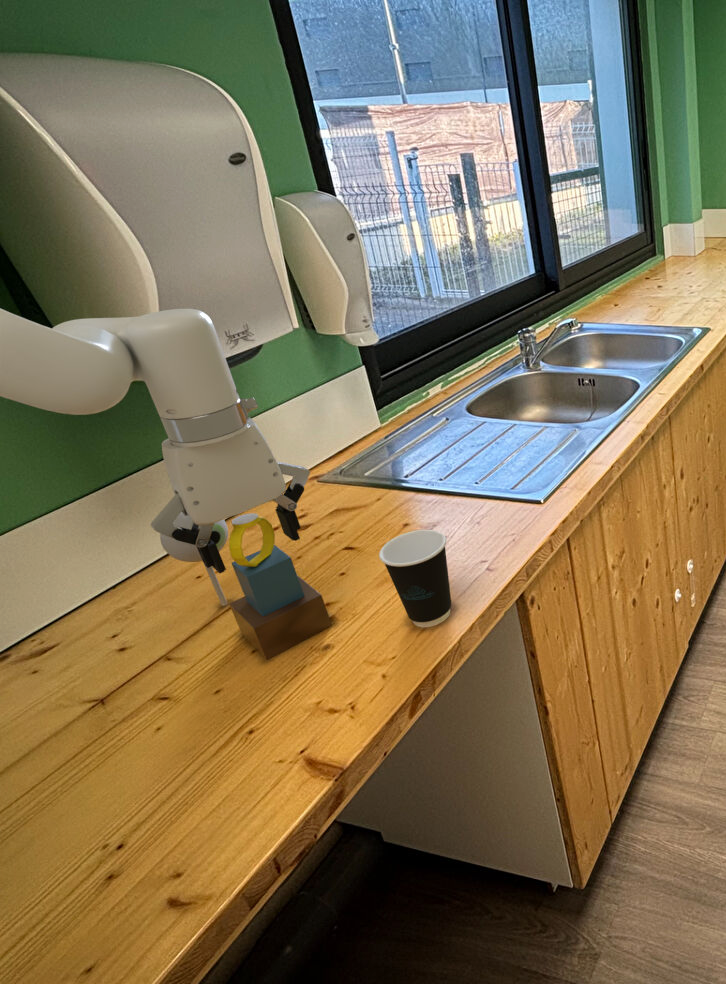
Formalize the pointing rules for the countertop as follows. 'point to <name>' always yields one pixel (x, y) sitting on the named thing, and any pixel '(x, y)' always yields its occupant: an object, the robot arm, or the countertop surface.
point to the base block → (282, 622)
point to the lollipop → (191, 552)
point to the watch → (237, 533)
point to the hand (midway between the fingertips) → (256, 551)
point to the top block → (269, 582)
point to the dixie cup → (420, 575)
